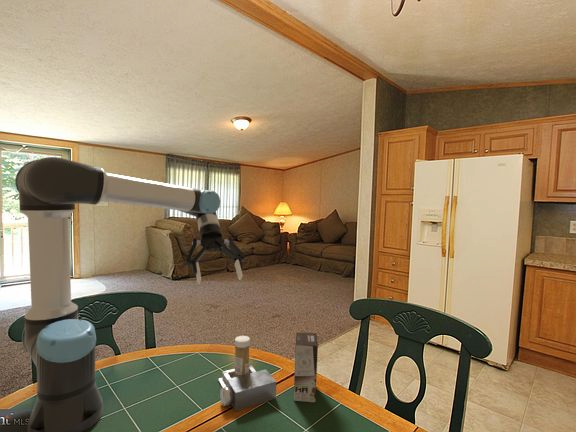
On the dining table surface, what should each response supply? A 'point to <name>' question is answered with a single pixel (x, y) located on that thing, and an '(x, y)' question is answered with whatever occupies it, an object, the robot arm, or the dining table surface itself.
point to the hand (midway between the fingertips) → (220, 280)
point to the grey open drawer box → (246, 388)
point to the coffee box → (305, 367)
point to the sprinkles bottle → (242, 355)
